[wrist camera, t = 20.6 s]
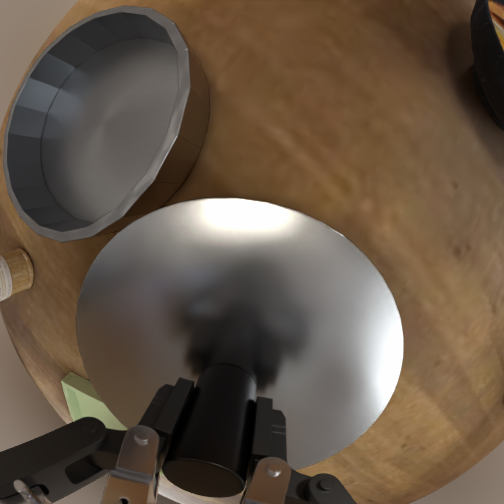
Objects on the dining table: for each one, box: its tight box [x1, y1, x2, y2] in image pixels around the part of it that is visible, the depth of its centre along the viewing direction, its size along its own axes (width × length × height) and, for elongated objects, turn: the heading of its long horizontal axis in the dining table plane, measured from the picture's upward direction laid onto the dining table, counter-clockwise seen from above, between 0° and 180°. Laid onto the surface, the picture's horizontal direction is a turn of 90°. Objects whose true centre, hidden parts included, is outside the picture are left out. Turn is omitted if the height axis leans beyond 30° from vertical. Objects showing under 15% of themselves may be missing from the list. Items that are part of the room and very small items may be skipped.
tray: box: [61, 372, 164, 476], centre depth 23 cm, size 15×11×2 cm
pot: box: [3, 6, 210, 242], centre depth 15 cm, size 17×17×5 cm
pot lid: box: [76, 197, 404, 498], centre depth 10 cm, size 18×18×7 cm
